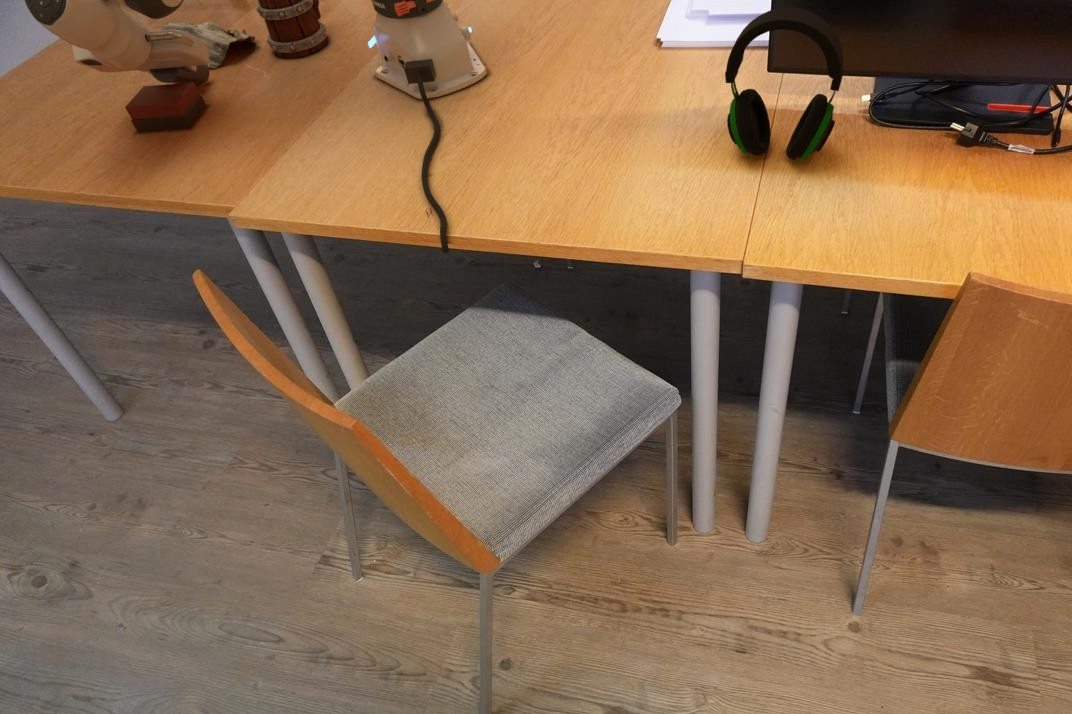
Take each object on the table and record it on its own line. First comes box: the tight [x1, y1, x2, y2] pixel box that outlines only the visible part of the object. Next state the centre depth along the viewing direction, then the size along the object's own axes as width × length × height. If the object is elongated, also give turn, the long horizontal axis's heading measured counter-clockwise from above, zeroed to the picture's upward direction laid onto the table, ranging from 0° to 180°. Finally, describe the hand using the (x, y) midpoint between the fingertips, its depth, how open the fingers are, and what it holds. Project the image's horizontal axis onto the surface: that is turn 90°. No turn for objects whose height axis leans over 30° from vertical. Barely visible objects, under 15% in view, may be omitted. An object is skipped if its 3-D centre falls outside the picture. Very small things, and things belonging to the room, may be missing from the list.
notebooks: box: [124, 82, 208, 133], centre depth 138 cm, size 8×10×5 cm
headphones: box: [724, 6, 845, 161], centre depth 107 cm, size 9×16×20 cm, turn 71°
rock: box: [154, 20, 256, 69], centre depth 156 cm, size 23×7×15 cm
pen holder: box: [149, 64, 211, 87], centre depth 142 cm, size 6×6×10 cm
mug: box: [255, 0, 328, 59], centre depth 152 cm, size 12×14×15 cm
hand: (174, 68), depth 141 cm, fingers closed on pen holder, 5 cm apart
